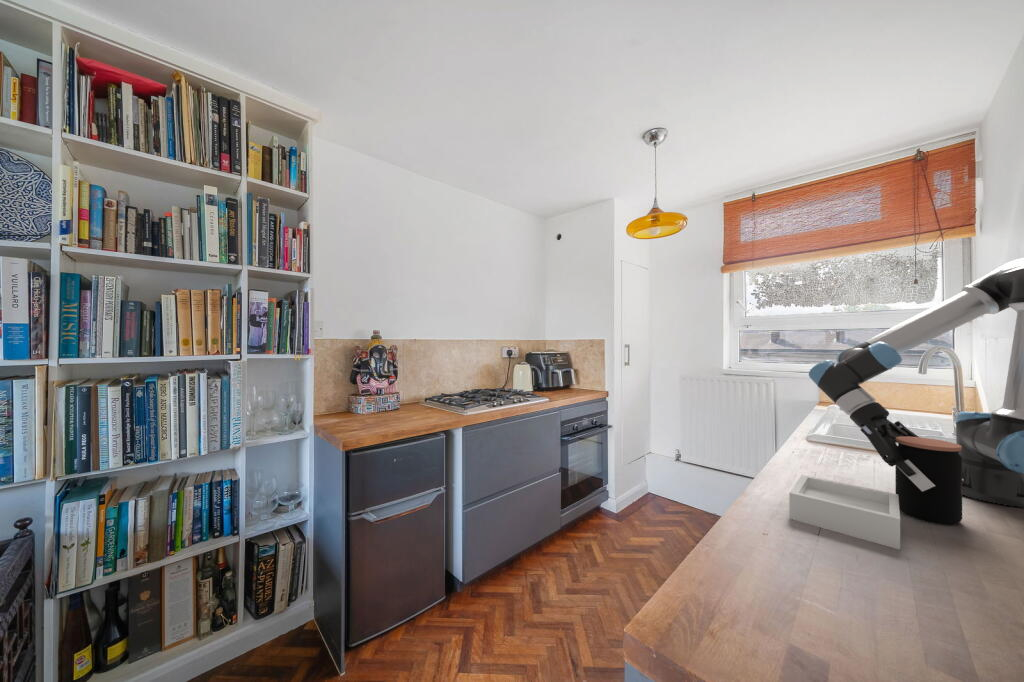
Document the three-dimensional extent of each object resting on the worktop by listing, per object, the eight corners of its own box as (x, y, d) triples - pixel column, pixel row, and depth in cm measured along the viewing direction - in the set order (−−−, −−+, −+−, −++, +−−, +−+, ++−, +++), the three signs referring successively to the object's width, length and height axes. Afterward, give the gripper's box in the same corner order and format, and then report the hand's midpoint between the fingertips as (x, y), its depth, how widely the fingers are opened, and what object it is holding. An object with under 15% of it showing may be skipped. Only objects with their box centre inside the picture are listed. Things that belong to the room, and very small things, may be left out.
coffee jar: (977, 529, 82) (977, 449, 83) (920, 524, 85) (920, 446, 85) (933, 508, 93) (933, 437, 93) (883, 504, 95) (883, 435, 95)
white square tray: (898, 522, 86) (898, 494, 86) (900, 551, 74) (900, 519, 74) (801, 498, 99) (801, 474, 99) (789, 520, 87) (789, 492, 87)
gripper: (876, 414, 107) (954, 486, 93) (823, 419, 99) (898, 498, 85) (900, 399, 102) (986, 472, 88) (846, 402, 95) (930, 484, 80)
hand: (943, 485), depth 86 cm, fingers open, 11 cm apart
